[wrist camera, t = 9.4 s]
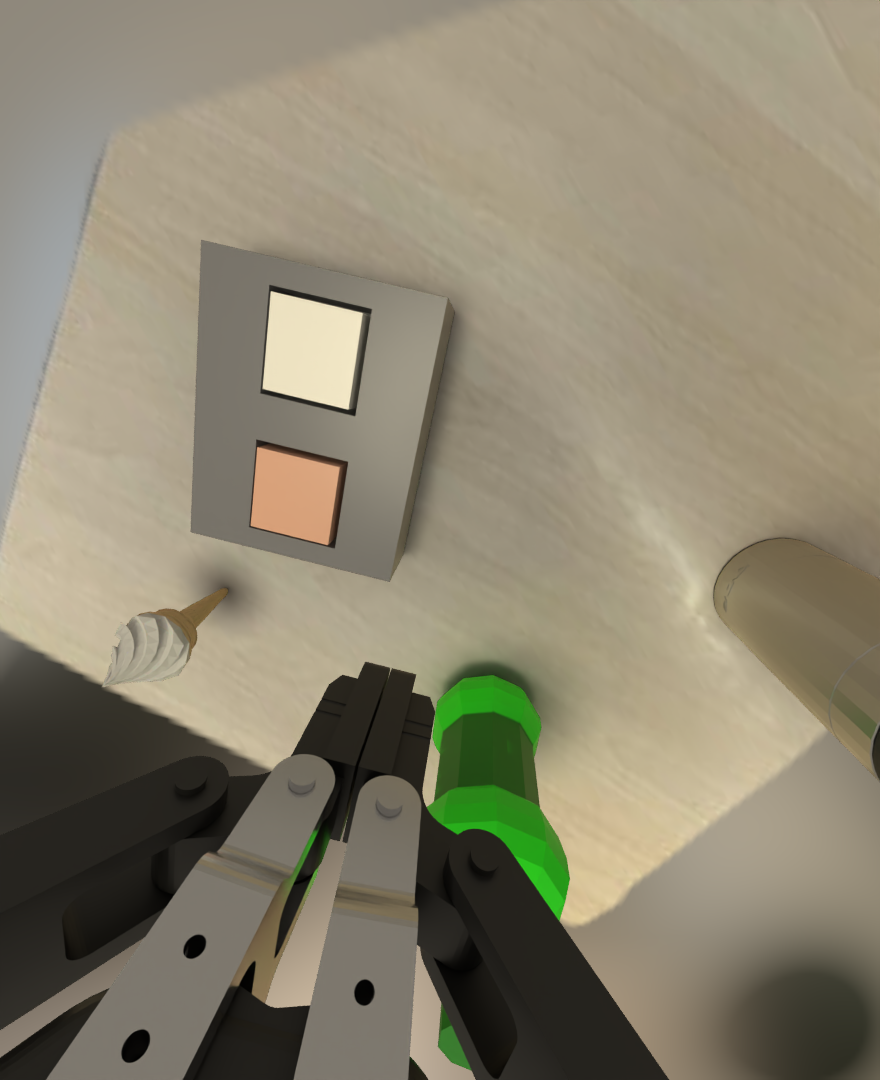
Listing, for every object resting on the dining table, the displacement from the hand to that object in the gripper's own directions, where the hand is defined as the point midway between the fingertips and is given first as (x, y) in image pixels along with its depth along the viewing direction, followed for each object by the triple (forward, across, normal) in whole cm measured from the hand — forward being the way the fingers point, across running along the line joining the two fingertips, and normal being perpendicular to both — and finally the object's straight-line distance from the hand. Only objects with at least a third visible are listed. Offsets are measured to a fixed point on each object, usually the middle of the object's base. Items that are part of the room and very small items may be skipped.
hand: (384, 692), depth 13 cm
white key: (+23, +11, -8) cm, 27 cm away
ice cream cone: (+27, +19, +15) cm, 36 cm away
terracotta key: (+23, +11, +2) cm, 26 cm away
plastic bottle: (+27, -8, +20) cm, 35 cm away
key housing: (+27, +11, -3) cm, 29 cm away
